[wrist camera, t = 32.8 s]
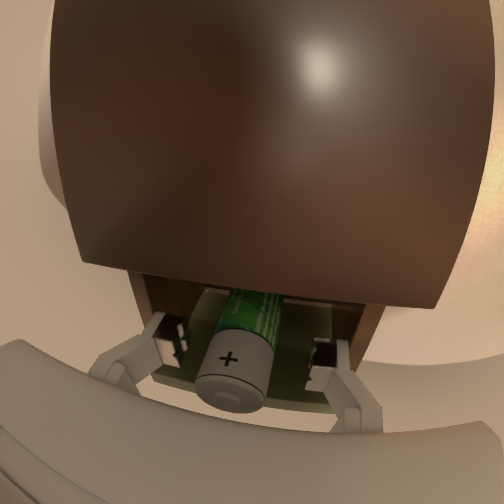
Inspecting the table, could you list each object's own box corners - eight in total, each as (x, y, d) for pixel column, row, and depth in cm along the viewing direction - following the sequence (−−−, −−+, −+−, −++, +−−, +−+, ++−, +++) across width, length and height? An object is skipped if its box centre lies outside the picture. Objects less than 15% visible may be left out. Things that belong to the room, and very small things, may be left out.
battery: (269, 231, 16) (221, 376, 8) (299, 262, 16) (278, 412, 9) (236, 256, 17) (176, 392, 9) (266, 284, 18) (229, 422, 10)
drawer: (331, 355, 22) (328, 439, 15) (200, 336, 24) (168, 411, 17) (385, 130, 12) (451, 167, 6) (177, 116, 14) (83, 145, 8)
